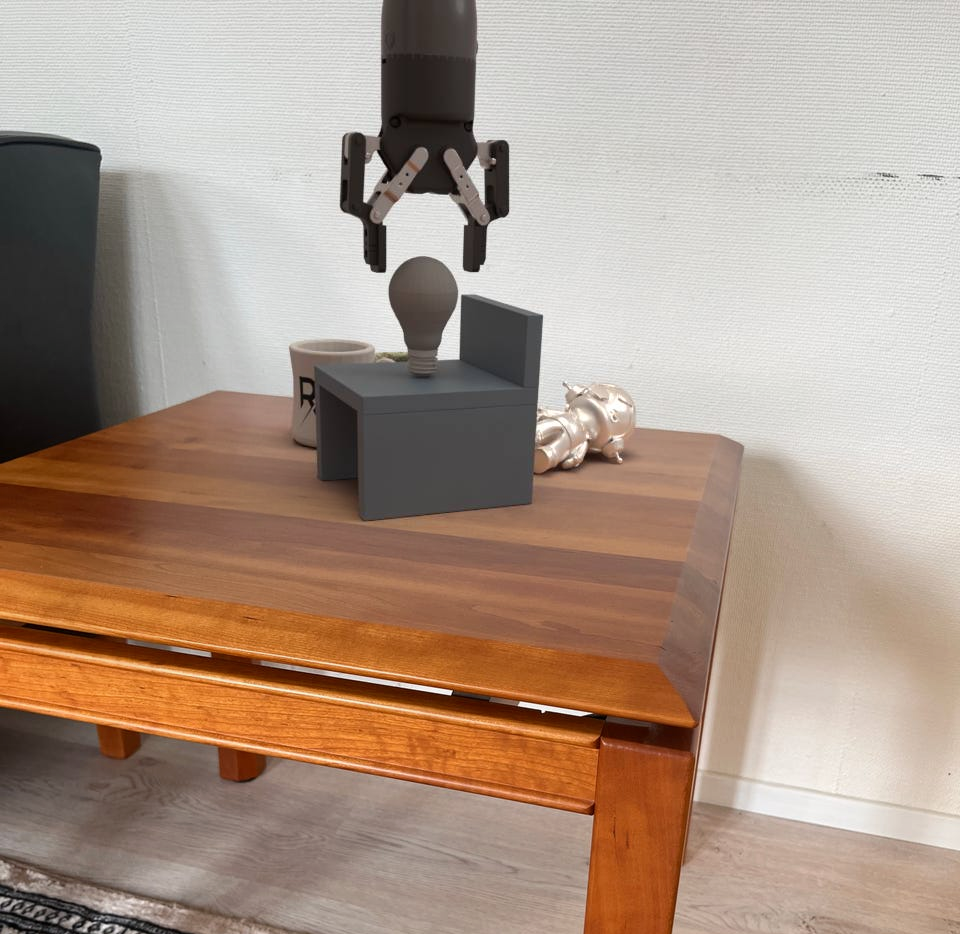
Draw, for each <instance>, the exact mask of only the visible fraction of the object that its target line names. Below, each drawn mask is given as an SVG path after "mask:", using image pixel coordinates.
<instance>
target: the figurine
mask: <svg viewBox="0 0 960 934" xmlns="http://www.w3.org/2000/svg"><path fill="white" fill-rule="evenodd" d="M562 386H563V387H565V388H567V390H568V391H567V392H566V393H565V394H564V398H565V403H566V404H565V409H564V410H562V409H558V408H551V407H548V406H547V407H546V406H545V407H543V406H538V408H537V424H536V440H535V447H537V448H535V457H534V473H535V474H538V475H539V474H542V473H545V472H546V471H547V470H548V469H551V468H555V467H557V466H558V464H560V463H561V462H562V465H561V467H562V469H564V470H568V469H572V468H574V467H578V466H579V465H580V463H583V462H584V457H585V456H586V454H587V453H589V454H599V453H600V454H601V455H603V456H605V457H607V458H608V459H609V458H614V457H615V458H616V463H617V464H622V463H623V458H622V457H620V455H619V454H621V453H622V452H623V451H624V444H625V443H626V442H627V441H629V439H630V438H631V437H632V435H633V434H634V431H635V429H636V426H637V417H638V416H637V408H636V405H635V402H634V399H633V397H632V396H631V395H630V394H629V392H627V390H626V389H624V388H622V387H621V386H619V385H618V384H616V383H612V382H598V383H597V382H595V381H592V382H591V383H589V384H588V385H587V386H585V385H581V384H579V383H576V384H575V385H573V386H572V387H571V386H570V385H569V381H568V380H563V382H562ZM538 446H539V447H538Z"/></svg>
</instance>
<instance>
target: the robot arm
mask: <svg viewBox="0 0 960 934" xmlns="http://www.w3.org/2000/svg"><path fill="white" fill-rule="evenodd" d="M381 5H382V6H381V14H380V119H381V120H380V121H381V124H380V130H379V133H378V135H377V136H374V135H365V134H364V133H362V132H358V131H350V132H346V133H345V134H343V135H342V139H341V158H340V159H341V160H340V161H341V162H340V184H339V209H340V210H341V212H342V213H344V214H348V215H350V216H353V217H355V218H357V219H359V220H360V222H361V223H362V230H363V231H362V233H363V235H362V236H363V237H362V239H363V243H362V244H363V259H364V260H363V261H364V262H365V264H366V265H369V267H370V268H369V269H370V271H371V272H373V273H376V274H386V272H387V225H385V224H384V220H385V219H386V217H387V215H388V214H389V213H390V211H391V209H392V208H393V206H394V205H395V204H396V203H397V202H399V200H400V199H402V197H403V195H404V194H410V195H411V194H413V195H424V194H431V195H438V196H449V197H450V199H451V201H453V202H454V204H456V205H457V207H458V209H459V211H460V212H461V213H462V215H463V217H464V219H465V220H466V222H467V224H463V241H462V269H463V271H464V272H468V273H479V272H480V270H481V266H484V265H485V262H486V260H487V240H488V227H489V225H490V224H491V223H492V222H493V221H496V220H499V219H501V218H502V219H503V218H506V217H508V216H509V214H510V145H509V142H508V141H507V140H505V139H488V140H487V141H477V140H476V137H475V134H474V121H475V112H476V111H475V110H476V109H475V108H476V78H477V77H476V76H477V54H478V51H479V42H478V11H477V0H382V4H381ZM375 152H376V154H377V155H378V157H379V158H380V160H381V161H382V164H383V165H384V166H385V168H386V170H385V171H384V172H383V174H382V175H381V177H380V178H379V180H378V181H377V182H376V184H375V186H374V188H373V192H372V194H371V195H370V197H369V198H368V200H367V201H366V202H365V201H364V199H365V197H364V195H365V176H366V175H365V174H366V165H367V164H370V163H371V162H372V159H373V155H374V153H375ZM476 158H477V159H478V162H479V166H480V168H482V170H483V172H484V173H483V175H484V177H483V178H484V182H483V183H484V203H483V201H482V199H481V198H480V192H479V190H478V189H477V187H476V185H475V183H474V182H473V180H472V178H471V177H470V175H469V173H468V171H469V169H470V168H471V166H472V164H473V162H474V161H475V160H476Z"/></svg>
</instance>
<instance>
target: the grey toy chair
mask: <svg viewBox="0 0 960 934" xmlns="http://www.w3.org/2000/svg"><path fill="white" fill-rule="evenodd" d="M459 320H460V321H459V322H460V324H459V353H458V354H459V355H458V357H459V358H458V359H438V360H435V362H437V364H435V367H437V372H435V373H433V374H430V376H427V377H419V376H415V375H414V374H413V373H411V372H409V371H408V370H407V368H408V363H409V362H384V363H360V364H336V365H315V366H314V377H315V411H316V442H317V447H316V469H317V472H316V473H317V478H318V479H319V480H320V481H322V482H325V481H334V480H347V479H357V486H358V487H357V493H358V498H357V499H358V517H359V518H360V519H361V520H362V521H363V522H367V521H377V520H386V519H395V518H405V517H415V516H425V515H436V514H444V513H453V512H462V511H472V510H473V511H474V510H482V509H492V508H499V507H500V508H501V507H502V508H503V507H510V506H521V505H522V506H523V505H529V504H530V505H531V504H532V502H533V489H534V488H533V487H534V473H535V472H534V457H535V449H536V446H535V440H536V424H537V409H538V408H539V404H538V403H539V389H540V388H539V387H540V375H541V359H542V342H543V328H544V327H543V325H544V314H542V313H537V312H534V311H531V310H528V309H526V308H525V309H524V308H521V307H518V306H514V305H512V304H509V303H506V302H505V303H504V302H501V301H498V300H496V299H491V298H488V297H485V296H482V295H479V294H473V293H472V294H470V293H469V294H461V295H460V317H459Z"/></svg>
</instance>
